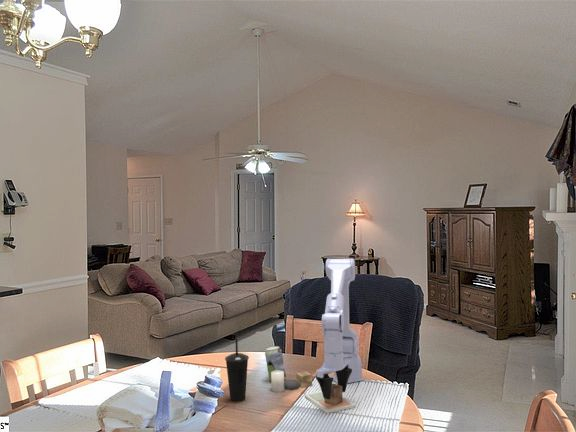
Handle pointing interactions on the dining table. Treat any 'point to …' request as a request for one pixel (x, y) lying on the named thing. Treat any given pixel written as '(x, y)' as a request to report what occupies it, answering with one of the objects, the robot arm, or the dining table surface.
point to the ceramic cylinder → (277, 381)
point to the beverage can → (274, 360)
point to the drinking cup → (237, 374)
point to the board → (327, 408)
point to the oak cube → (304, 379)
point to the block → (335, 395)
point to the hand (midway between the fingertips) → (334, 394)
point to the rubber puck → (291, 384)
